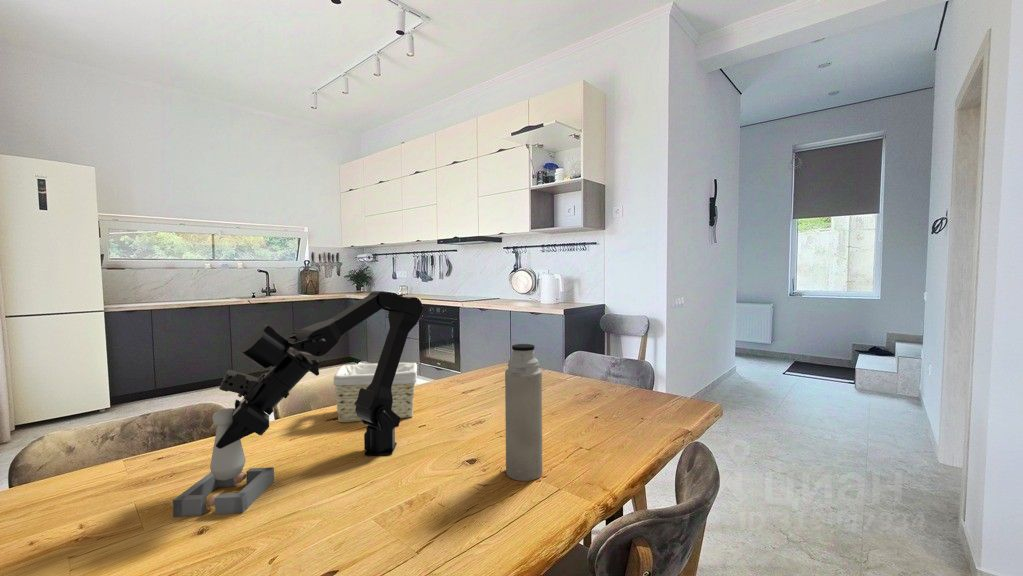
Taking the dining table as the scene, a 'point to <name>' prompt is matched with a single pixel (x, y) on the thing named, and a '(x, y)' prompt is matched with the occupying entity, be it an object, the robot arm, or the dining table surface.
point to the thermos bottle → (523, 414)
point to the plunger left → (212, 500)
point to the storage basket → (361, 376)
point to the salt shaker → (226, 449)
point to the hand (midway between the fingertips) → (218, 443)
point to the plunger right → (240, 477)
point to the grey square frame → (224, 503)
